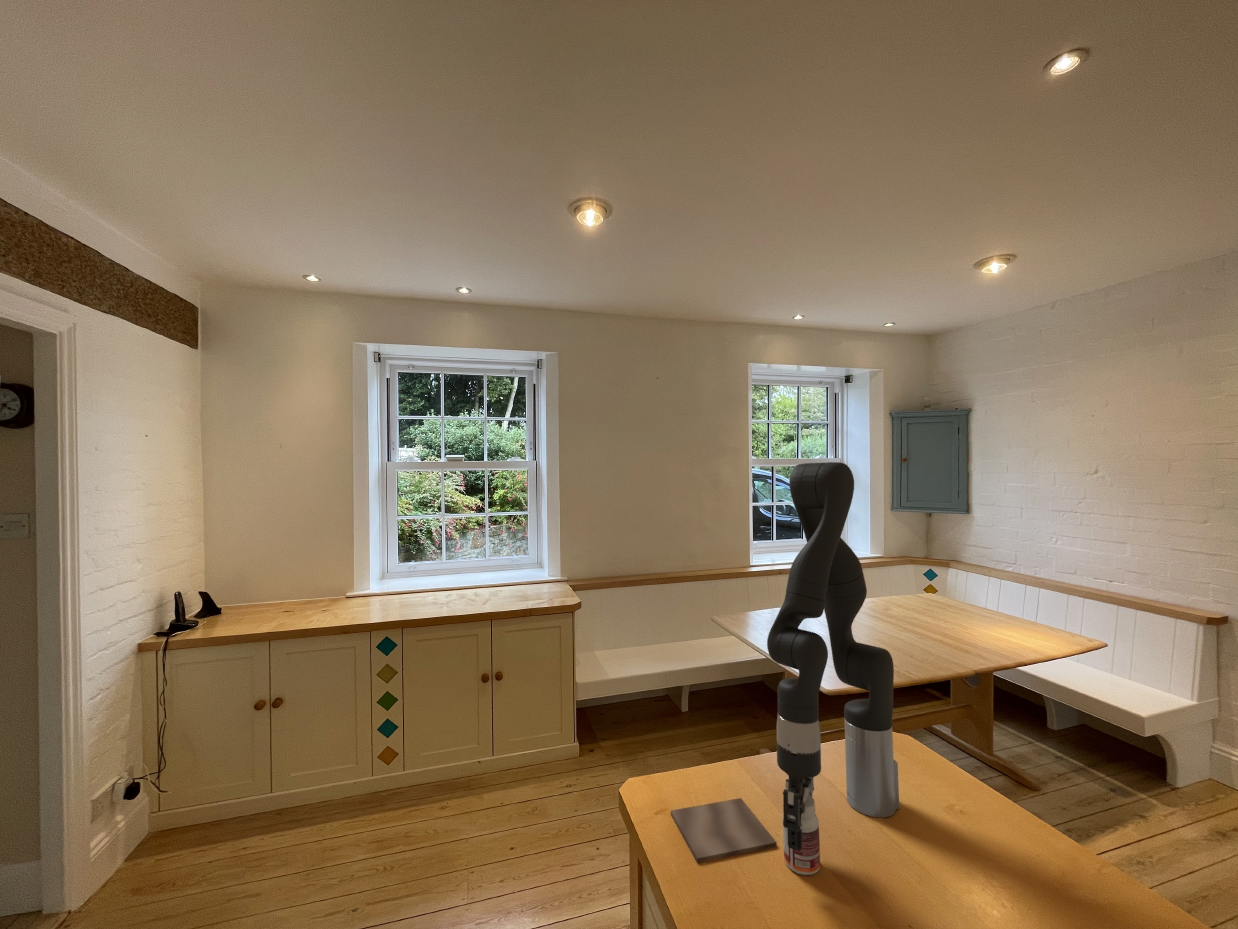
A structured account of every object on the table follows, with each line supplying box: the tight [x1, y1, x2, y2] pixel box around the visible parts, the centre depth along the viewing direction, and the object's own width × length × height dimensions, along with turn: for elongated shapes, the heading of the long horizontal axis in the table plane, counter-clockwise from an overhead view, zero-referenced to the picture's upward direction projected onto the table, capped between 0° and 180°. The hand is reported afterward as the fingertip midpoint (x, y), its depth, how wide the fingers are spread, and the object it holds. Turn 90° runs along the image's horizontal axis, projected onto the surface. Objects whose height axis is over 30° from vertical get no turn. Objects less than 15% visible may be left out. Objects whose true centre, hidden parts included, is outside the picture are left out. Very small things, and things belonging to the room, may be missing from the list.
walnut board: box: [670, 797, 778, 864], centre depth 100 cm, size 16×14×1 cm
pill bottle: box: [782, 795, 821, 876], centre depth 91 cm, size 6×6×11 cm
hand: (799, 834), depth 91 cm, fingers open, 8 cm apart
